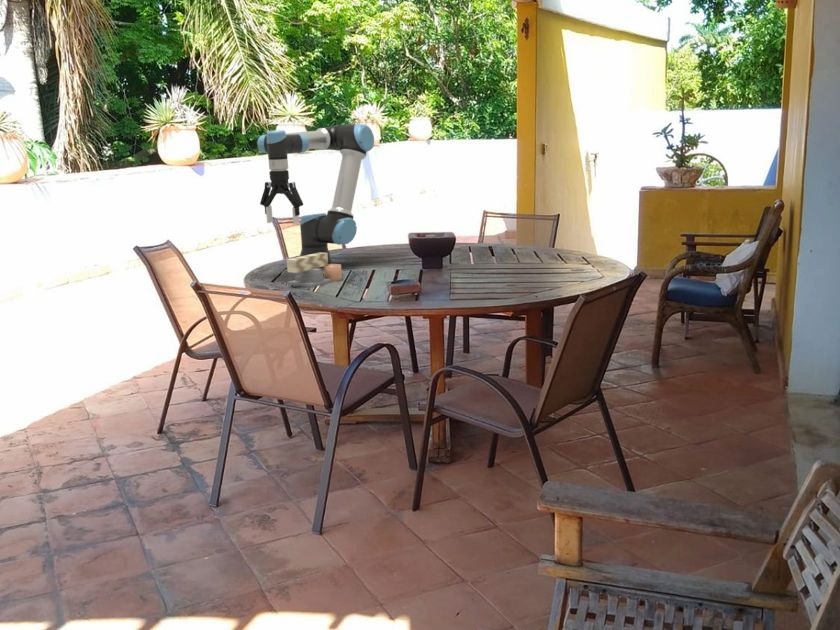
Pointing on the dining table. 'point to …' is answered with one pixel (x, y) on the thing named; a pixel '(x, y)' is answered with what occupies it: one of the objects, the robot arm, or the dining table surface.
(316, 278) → the fulcrum
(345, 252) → the dining table surface
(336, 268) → the orange-brown rounded piece
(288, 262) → the bar
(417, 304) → the dining table surface
